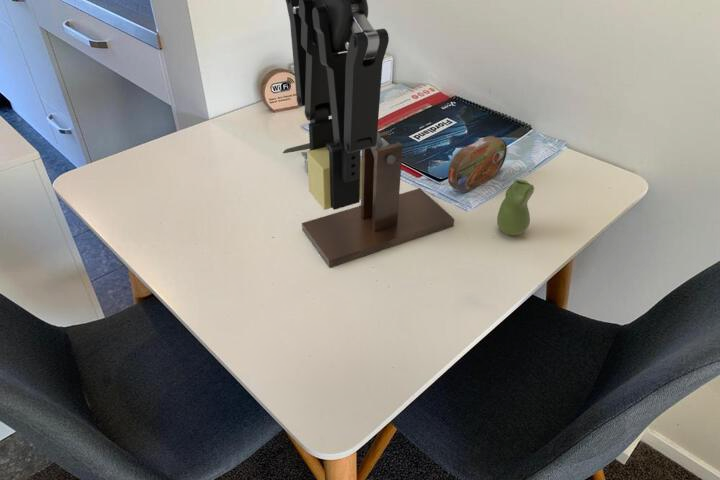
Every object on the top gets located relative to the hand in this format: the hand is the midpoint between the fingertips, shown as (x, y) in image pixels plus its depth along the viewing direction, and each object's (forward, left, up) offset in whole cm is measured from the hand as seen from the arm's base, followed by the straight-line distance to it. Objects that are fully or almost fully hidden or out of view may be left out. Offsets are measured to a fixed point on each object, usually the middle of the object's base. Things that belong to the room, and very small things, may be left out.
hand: (335, 192), depth 51 cm
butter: (0, 0, 0) cm, 0 cm away
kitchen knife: (+49, +30, -27) cm, 63 cm away
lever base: (+29, +7, -27) cm, 40 cm away
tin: (+51, -4, -27) cm, 58 cm away
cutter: (+27, +9, -8) cm, 29 cm away
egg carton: (+41, +23, -27) cm, 54 cm away
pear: (+38, -14, -27) cm, 49 cm away
